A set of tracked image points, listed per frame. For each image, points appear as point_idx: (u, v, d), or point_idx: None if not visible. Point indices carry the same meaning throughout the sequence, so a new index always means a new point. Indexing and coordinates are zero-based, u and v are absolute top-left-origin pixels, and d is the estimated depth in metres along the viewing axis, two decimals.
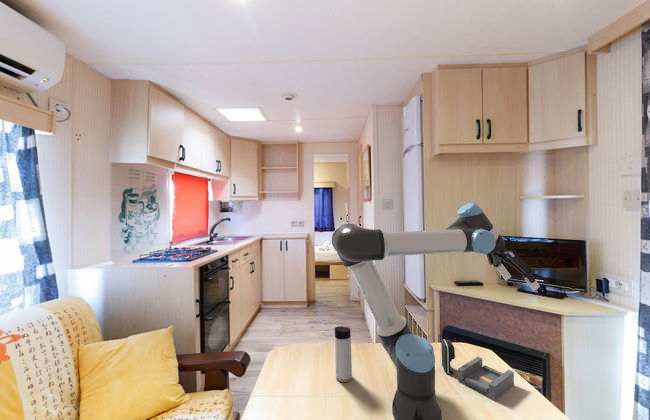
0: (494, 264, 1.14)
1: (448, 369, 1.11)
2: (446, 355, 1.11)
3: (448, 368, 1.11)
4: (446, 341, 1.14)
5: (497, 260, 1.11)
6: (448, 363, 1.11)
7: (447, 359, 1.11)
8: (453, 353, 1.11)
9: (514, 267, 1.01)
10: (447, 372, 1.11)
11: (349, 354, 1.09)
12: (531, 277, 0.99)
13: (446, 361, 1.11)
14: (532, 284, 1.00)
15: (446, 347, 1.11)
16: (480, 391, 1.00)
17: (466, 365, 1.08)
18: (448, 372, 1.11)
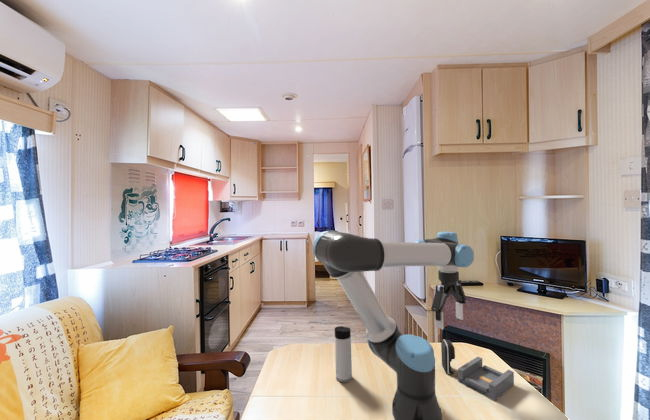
0: None
1: (448, 369, 1.11)
2: (446, 355, 1.11)
3: (448, 368, 1.11)
4: (446, 341, 1.14)
5: (454, 295, 1.16)
6: (448, 363, 1.11)
7: (447, 359, 1.11)
8: (453, 353, 1.11)
9: None
10: (447, 372, 1.11)
11: (349, 354, 1.09)
12: (437, 315, 1.09)
13: (446, 361, 1.11)
14: (437, 322, 1.10)
15: (446, 347, 1.11)
16: (480, 391, 1.00)
17: (466, 365, 1.08)
18: (448, 372, 1.11)
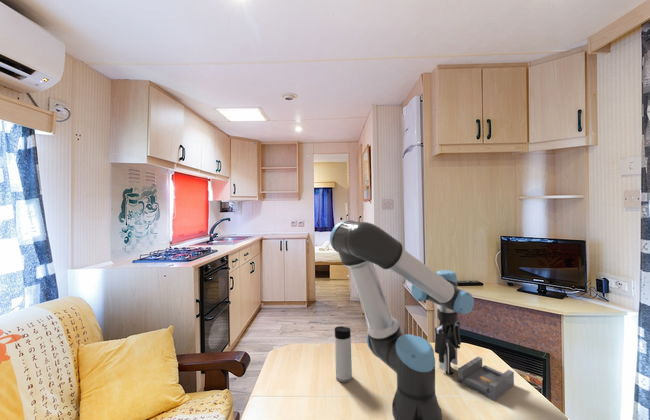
0: None
1: (448, 369, 1.11)
2: (446, 355, 1.11)
3: (448, 368, 1.11)
4: None
5: (450, 336, 1.15)
6: (448, 363, 1.11)
7: (447, 359, 1.11)
8: (453, 353, 1.11)
9: None
10: (447, 372, 1.11)
11: (349, 354, 1.09)
12: (440, 357, 1.11)
13: (446, 361, 1.11)
14: (440, 363, 1.12)
15: (446, 347, 1.11)
16: (480, 391, 1.00)
17: (466, 365, 1.08)
18: (448, 372, 1.11)
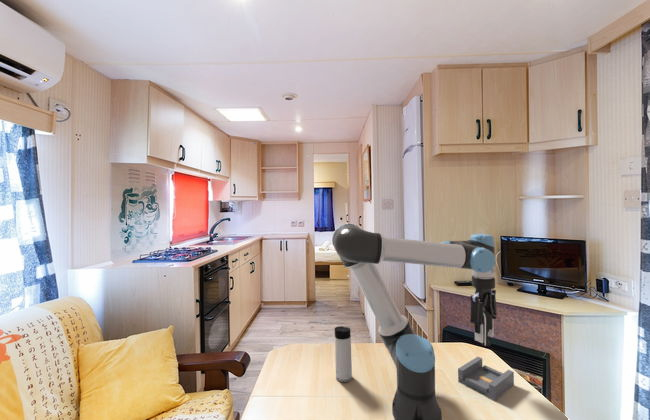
0: None
1: (485, 340, 1.02)
2: (483, 325, 1.01)
3: (485, 339, 1.02)
4: None
5: (486, 306, 1.06)
6: (485, 334, 1.02)
7: (484, 329, 1.01)
8: (491, 323, 1.01)
9: None
10: (484, 343, 1.02)
11: (349, 354, 1.09)
12: (476, 327, 1.02)
13: (483, 331, 1.02)
14: (476, 334, 1.03)
15: (483, 316, 1.02)
16: (480, 391, 1.00)
17: (466, 365, 1.08)
18: (485, 343, 1.02)
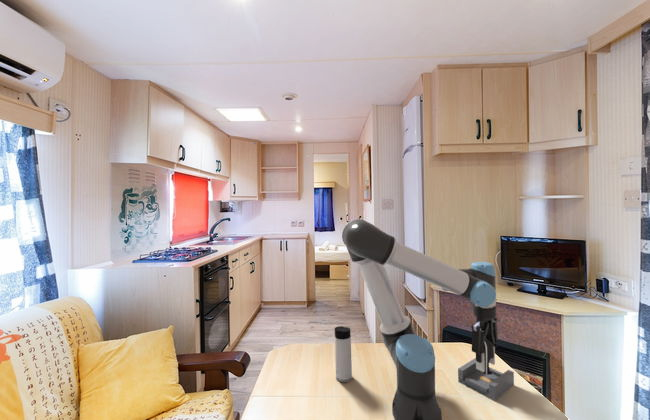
0: None
1: (486, 369, 1.02)
2: (484, 354, 1.02)
3: (486, 368, 1.02)
4: None
5: (487, 334, 1.06)
6: (486, 363, 1.02)
7: (485, 358, 1.02)
8: (492, 352, 1.01)
9: None
10: (485, 372, 1.02)
11: (349, 354, 1.09)
12: (477, 356, 1.02)
13: (484, 360, 1.02)
14: (477, 363, 1.03)
15: (484, 345, 1.02)
16: (480, 391, 1.00)
17: (466, 365, 1.08)
18: (486, 372, 1.02)
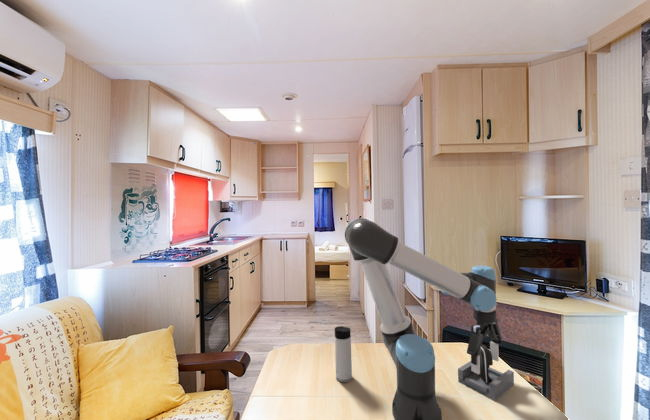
0: None
1: (486, 377, 1.02)
2: (483, 361, 1.02)
3: (486, 376, 1.02)
4: (481, 346, 1.06)
5: (489, 334, 1.07)
6: (486, 370, 1.02)
7: (485, 366, 1.02)
8: (491, 359, 1.02)
9: None
10: (485, 380, 1.02)
11: (349, 354, 1.09)
12: (473, 358, 1.00)
13: (483, 368, 1.02)
14: (473, 365, 1.01)
15: (483, 352, 1.03)
16: (480, 391, 1.00)
17: (466, 365, 1.08)
18: (486, 380, 1.02)
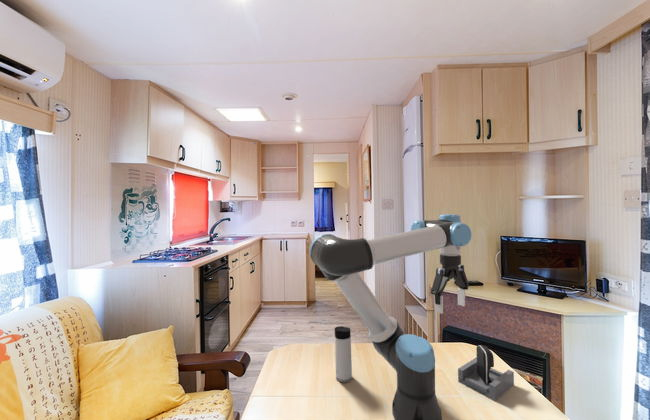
0: None
1: (487, 378, 1.02)
2: (484, 363, 1.02)
3: (487, 377, 1.02)
4: (483, 347, 1.05)
5: (456, 280, 1.12)
6: (487, 372, 1.02)
7: (486, 367, 1.02)
8: (492, 361, 1.02)
9: None
10: (485, 381, 1.02)
11: (349, 354, 1.09)
12: (436, 298, 1.05)
13: (484, 369, 1.02)
14: (437, 306, 1.07)
15: (484, 354, 1.02)
16: (480, 391, 1.00)
17: (466, 365, 1.08)
18: (487, 381, 1.02)
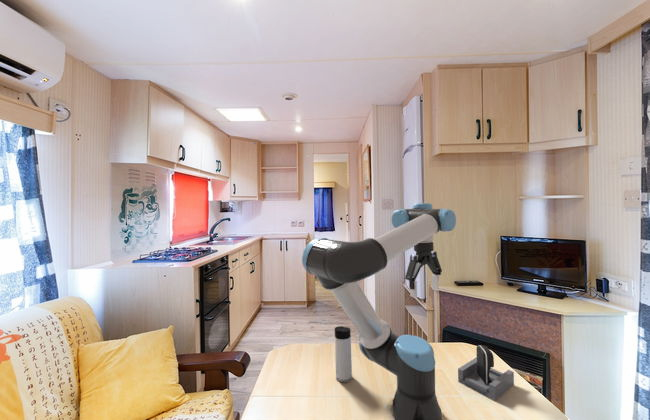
0: None
1: (487, 378, 1.02)
2: (484, 363, 1.02)
3: (487, 377, 1.02)
4: (483, 347, 1.05)
5: (430, 266, 1.17)
6: (487, 372, 1.02)
7: (486, 367, 1.02)
8: (492, 361, 1.02)
9: None
10: (485, 381, 1.02)
11: (349, 354, 1.09)
12: (410, 283, 1.10)
13: (484, 369, 1.02)
14: (411, 291, 1.11)
15: (484, 354, 1.02)
16: (480, 391, 1.00)
17: (466, 365, 1.08)
18: (487, 381, 1.02)
